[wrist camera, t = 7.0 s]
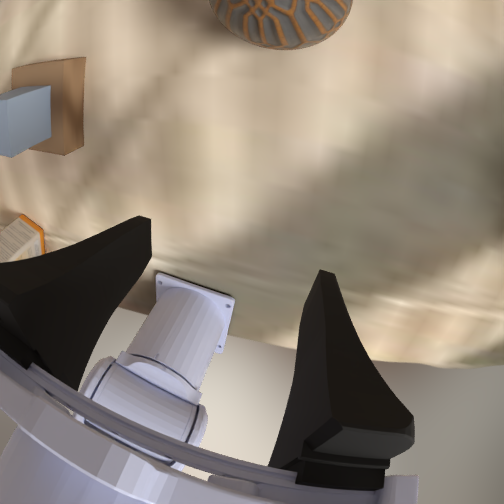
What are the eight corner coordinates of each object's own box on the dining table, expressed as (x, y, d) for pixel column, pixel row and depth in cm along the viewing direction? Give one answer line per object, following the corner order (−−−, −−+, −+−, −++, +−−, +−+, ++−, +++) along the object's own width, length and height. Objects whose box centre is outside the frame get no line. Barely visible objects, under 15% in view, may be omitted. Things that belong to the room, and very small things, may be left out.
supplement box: (22, 212, 29) (-49, 273, 19) (44, 229, 30) (-28, 298, 19) (26, 254, 34) (-30, 313, 24) (47, 271, 35) (-9, 335, 24)
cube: (51, 136, 19) (11, 157, 15) (23, 132, 19) (-14, 151, 16) (50, 85, 16) (6, 100, 13) (21, 86, 17) (-18, 101, 13)
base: (87, 143, 22) (64, 155, 20) (36, 136, 23) (15, 146, 20) (89, 56, 17) (64, 60, 15) (35, 63, 18) (11, 68, 16)
